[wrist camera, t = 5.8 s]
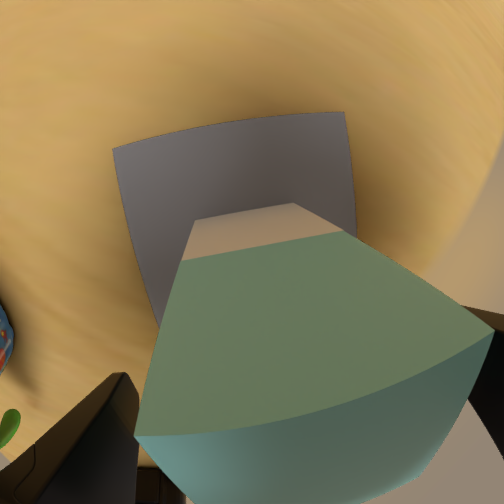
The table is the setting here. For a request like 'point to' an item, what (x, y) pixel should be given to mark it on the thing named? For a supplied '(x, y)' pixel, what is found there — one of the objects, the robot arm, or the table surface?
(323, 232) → the white block
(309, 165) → the mat
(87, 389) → the table surface
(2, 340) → the snack cup
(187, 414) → the teal block
